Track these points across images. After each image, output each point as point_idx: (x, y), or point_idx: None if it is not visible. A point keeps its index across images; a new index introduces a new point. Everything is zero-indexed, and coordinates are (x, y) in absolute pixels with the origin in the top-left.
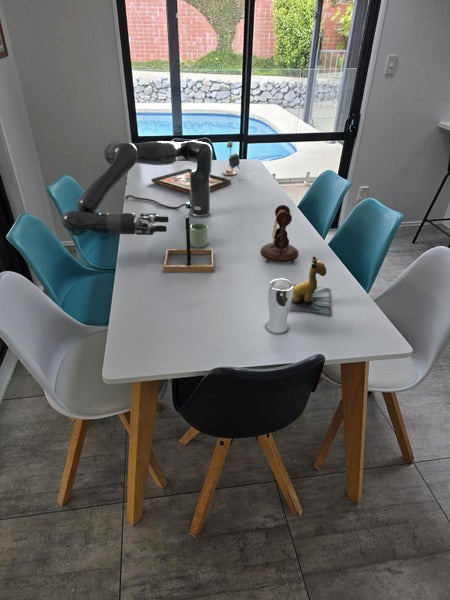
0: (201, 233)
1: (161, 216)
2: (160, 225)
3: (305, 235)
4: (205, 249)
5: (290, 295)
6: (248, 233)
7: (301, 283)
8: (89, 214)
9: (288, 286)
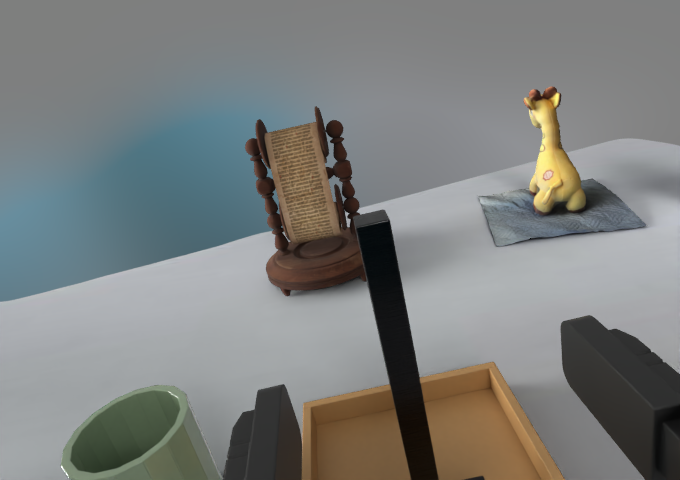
0: (196, 421)
1: (269, 446)
2: (615, 356)
3: (199, 259)
4: (307, 432)
5: None
6: (129, 356)
7: (556, 164)
8: None
9: None
